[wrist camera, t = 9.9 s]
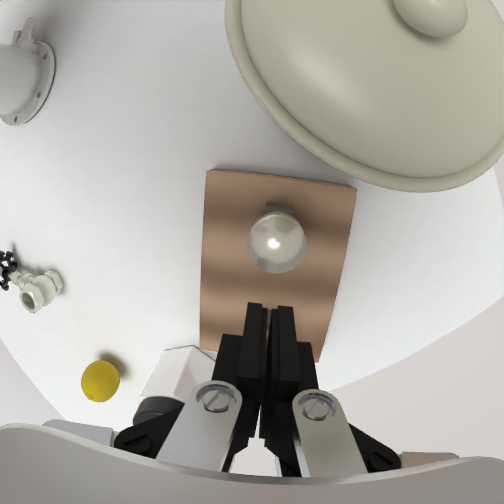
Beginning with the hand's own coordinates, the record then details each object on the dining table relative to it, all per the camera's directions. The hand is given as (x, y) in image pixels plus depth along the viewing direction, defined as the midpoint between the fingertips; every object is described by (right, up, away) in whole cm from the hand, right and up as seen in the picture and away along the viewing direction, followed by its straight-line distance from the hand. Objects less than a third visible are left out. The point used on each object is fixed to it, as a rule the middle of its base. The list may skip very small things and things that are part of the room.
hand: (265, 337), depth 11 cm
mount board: (+2, +1, +22) cm, 22 cm away
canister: (+9, +20, +15) cm, 26 cm away
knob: (+2, +6, +17) cm, 18 cm away
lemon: (-22, -14, +29) cm, 39 cm away
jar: (-9, -13, +28) cm, 32 cm away
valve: (-33, 0, +25) cm, 41 cm away
